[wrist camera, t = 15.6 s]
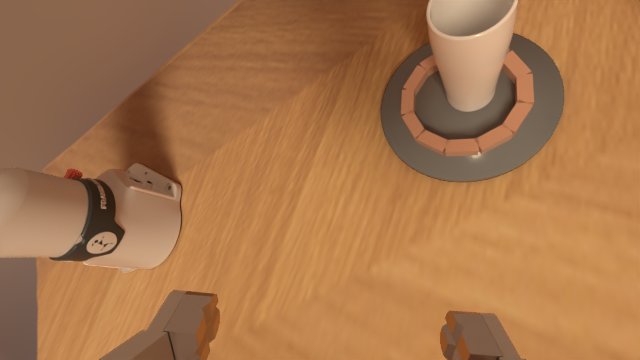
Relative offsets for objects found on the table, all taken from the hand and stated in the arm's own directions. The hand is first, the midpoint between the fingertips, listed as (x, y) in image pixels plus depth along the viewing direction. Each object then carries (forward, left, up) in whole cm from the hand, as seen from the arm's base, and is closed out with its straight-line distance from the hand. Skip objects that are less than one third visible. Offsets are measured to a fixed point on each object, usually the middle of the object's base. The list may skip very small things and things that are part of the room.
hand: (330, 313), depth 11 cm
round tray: (-7, +21, -27) cm, 35 cm away
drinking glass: (-7, +22, -27) cm, 35 cm away
